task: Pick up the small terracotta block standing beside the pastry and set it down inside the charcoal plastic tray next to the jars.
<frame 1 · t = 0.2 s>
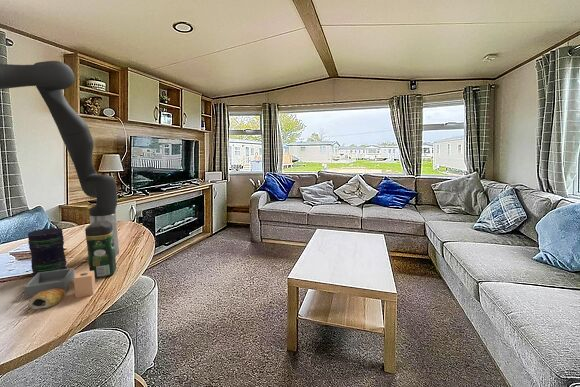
pastry: (48, 303, 91), on the table
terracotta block: (86, 292, 97), on the table
storage jar: (50, 272, 113), on the table
coffee jar: (103, 274, 112), on the table
charcoal tray: (51, 286, 101), on the table
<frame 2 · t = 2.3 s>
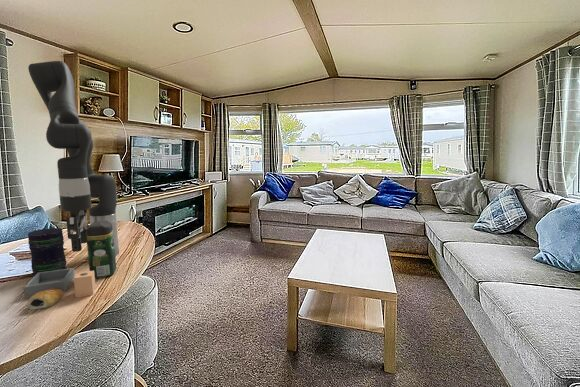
hand: (80, 246, 95), 15 cm above the table, tool pointing down, fingers open, 8 cm apart
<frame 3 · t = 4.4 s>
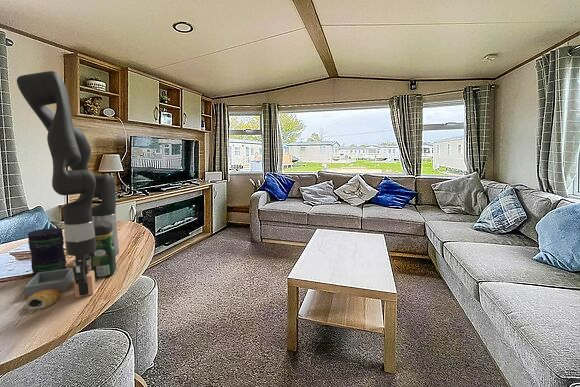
hand: (85, 290, 97), 1 cm above the table, tool pointing down, fingers closed on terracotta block, 4 cm apart
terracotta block: (86, 292, 97), on the table, touching gripper
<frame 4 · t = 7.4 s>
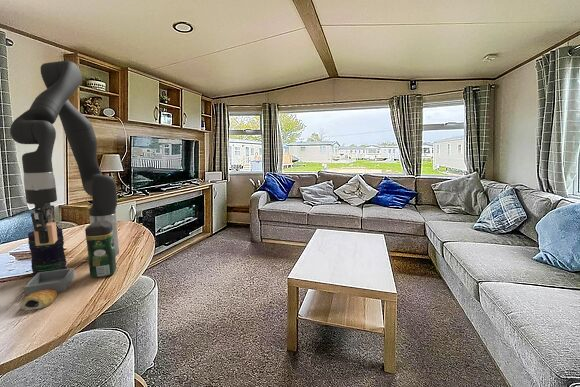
hand: (46, 240, 99), 15 cm above the table, tool pointing down, fingers closed on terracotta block, 4 cm apart
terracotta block: (47, 242, 99), point 14 cm above the table, touching gripper
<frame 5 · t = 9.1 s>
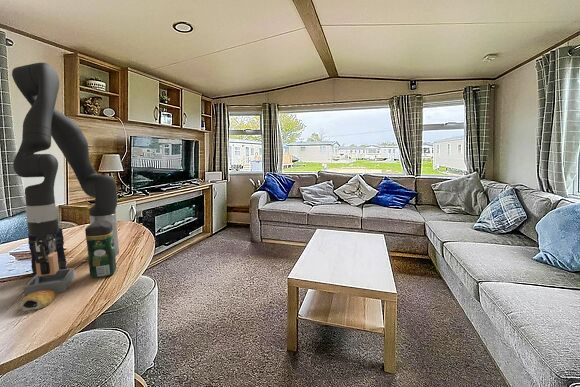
hand: (48, 270, 100), 5 cm above the table, tool pointing down, fingers closed on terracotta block, 4 cm apart
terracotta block: (48, 272, 100), point 5 cm above the table, touching gripper
when the fingers open (3 cm above the table, at t = 10.5 s): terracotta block drops 1 cm, resting on charcoal tray.
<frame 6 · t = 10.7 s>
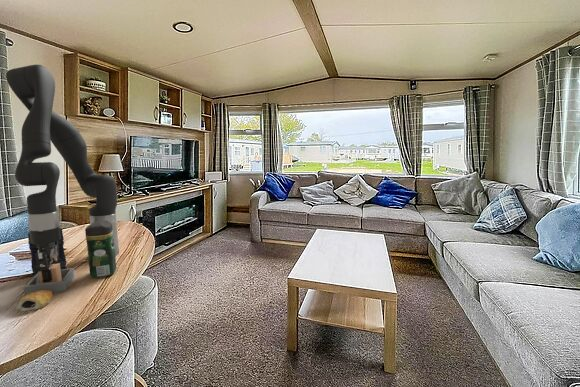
hand: (50, 277, 101), 3 cm above the table, tool pointing down, fingers open, 6 cm apart
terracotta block: (51, 284, 101), point 1 cm above the table, touching charcoal tray
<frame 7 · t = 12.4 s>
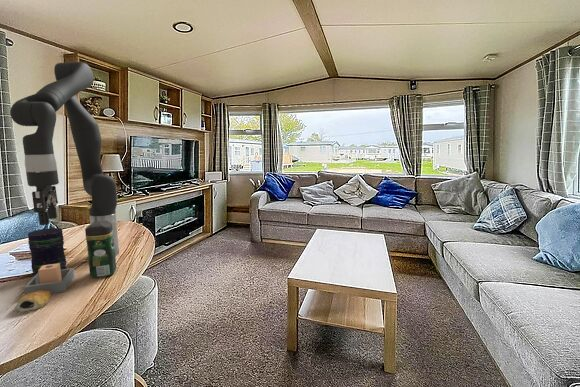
hand: (48, 221, 98), 21 cm above the table, tool pointing down, fingers open, 8 cm apart
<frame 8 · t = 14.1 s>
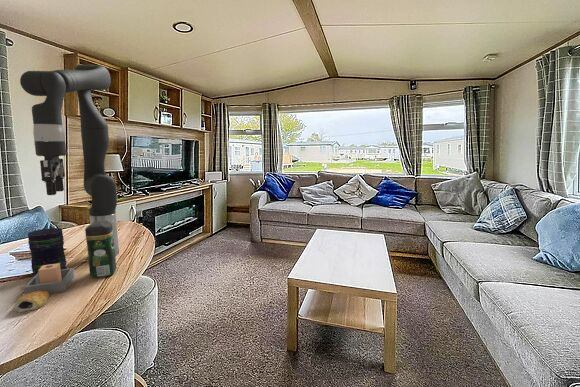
hand: (55, 193, 98), 30 cm above the table, tool pointing down, fingers open, 8 cm apart
at the end: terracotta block 0.1 cm off-centre on the charcoal tray, point 0.6 cm above the charcoal tray's base; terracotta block tilted 0°; the gripper is holding nothing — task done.
